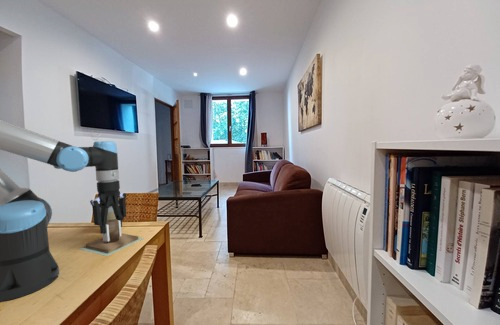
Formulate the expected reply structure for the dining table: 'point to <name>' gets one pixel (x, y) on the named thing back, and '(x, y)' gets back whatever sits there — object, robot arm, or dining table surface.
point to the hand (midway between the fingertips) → (112, 238)
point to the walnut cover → (112, 239)
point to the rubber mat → (111, 252)
